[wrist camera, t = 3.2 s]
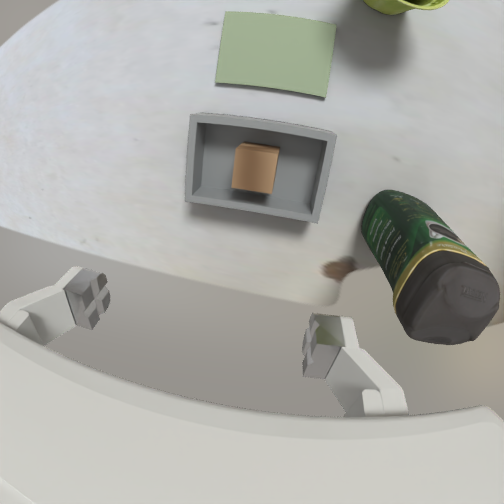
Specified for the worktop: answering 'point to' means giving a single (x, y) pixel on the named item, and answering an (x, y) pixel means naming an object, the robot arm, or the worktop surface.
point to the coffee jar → (429, 271)
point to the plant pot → (404, 5)
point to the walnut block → (255, 167)
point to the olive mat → (276, 52)
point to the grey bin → (287, 174)
